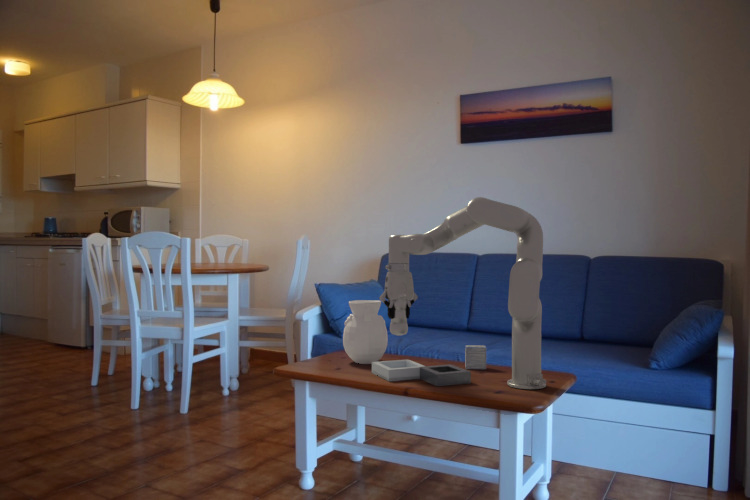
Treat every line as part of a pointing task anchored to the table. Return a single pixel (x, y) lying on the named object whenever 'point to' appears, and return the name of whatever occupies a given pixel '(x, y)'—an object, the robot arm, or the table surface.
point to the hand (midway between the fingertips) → (398, 317)
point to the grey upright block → (475, 357)
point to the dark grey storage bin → (445, 375)
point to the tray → (397, 370)
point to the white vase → (365, 332)
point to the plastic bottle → (399, 317)
